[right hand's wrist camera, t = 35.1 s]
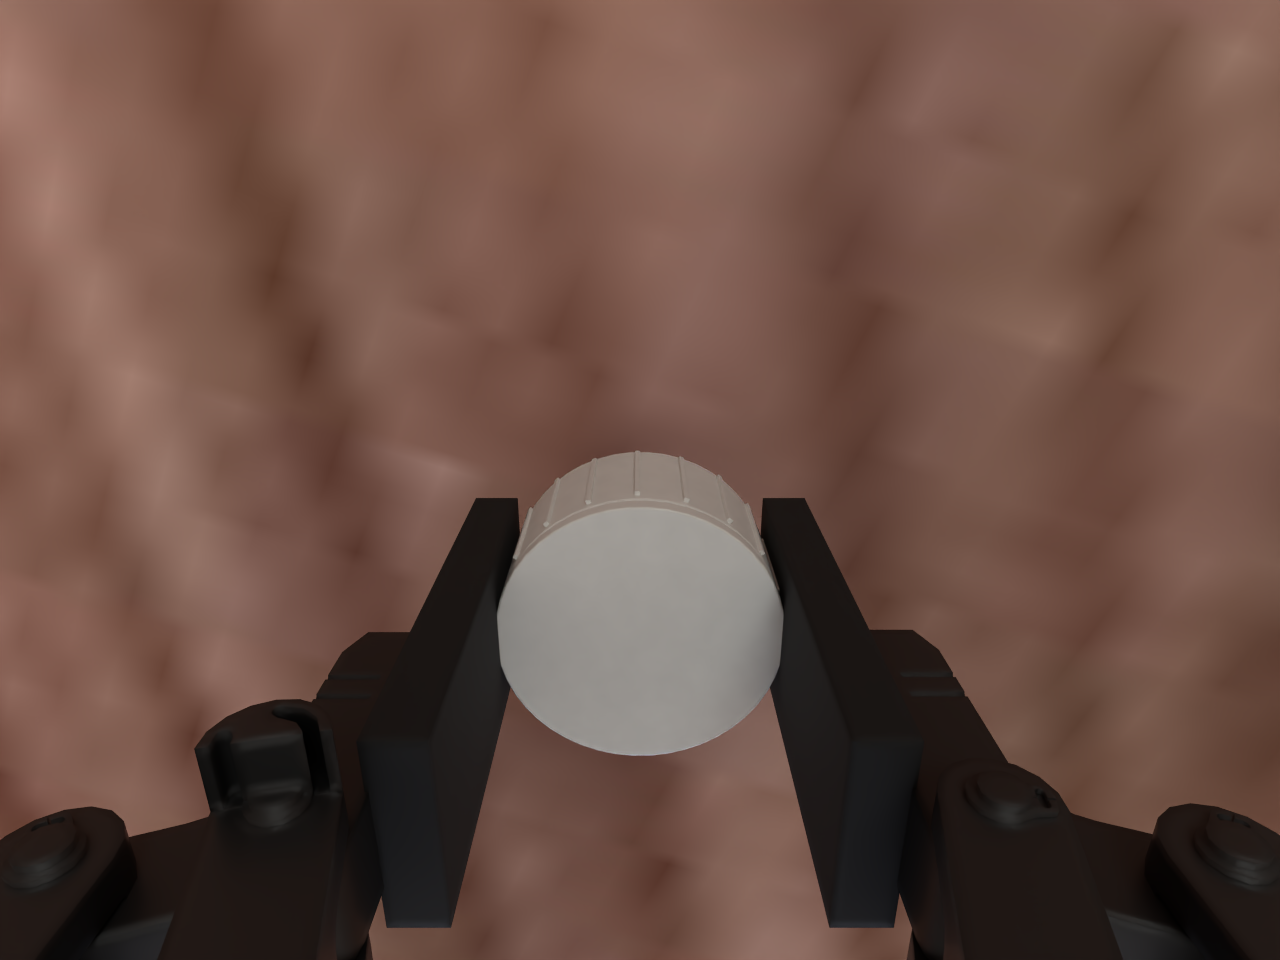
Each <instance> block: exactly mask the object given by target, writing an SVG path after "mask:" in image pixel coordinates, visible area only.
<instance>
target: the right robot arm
mask: <svg viewBox="0 0 1280 960" xmlns="http://www.w3.org/2000/svg"><path fill="white" fill-rule="evenodd" d="M519 537H520V529H519V513H518V498H476V499H475V502H474V504H473V506H472V508H471V510H470V512H469V514H468V516H467V518H466V520H465V522H464V524H463V526H462V528H461V530H460V532H459V534H458V536H457V538H456V540H455V542H454V544H453V546H452V548H451V550H450V552H449V554H448V556H447V558H446V560H445V562H444V564H443V566H442V568H441V570H440V572H439V575H438V577H437V579H436V581H435V583H434V585H433V587H432V589H431V591H430V593H429V595H428V597H427V599H426V601H425V603H424V605H423V607H422V609H421V611H420V613H419V615H418V617H417V619H416V621H415V623H414V625H413V627H412V629H411V631H410V632H368V633H367V634H365V635H364V636H363V637H362V638H360V639H359V640H358V641H356V642H355V643H354V644H352V645H351V646H350V647H348V648H347V649H346V650H344V651H343V652H342V654H341V655H340V657H339V658H338V660H337V662H336V663H335V665H334V667H333V668H332V670H331V671H330V673H329V675H328V680H325V681H324V683H323V685H322V686H321V688H320V689H319V691H318V693H317V697H316V699H313V701H312V703H311V702H308V701H304V700H301V699H292V700H274V701H269V702H265V703H261V704H257V705H252V706H250V707H247V708H245V709H243V710H241V711H239V712H236V713H234V714H232V715H230V716H228V717H226V718H224V719H223V720H222V721H220V722H219V723H218V724H216V725H215V726H214V727H212V728H211V729H210V730H208V731H207V732H206V733H205V735H204V736H203V737H202V739H201V740H200V742H199V743H198V744H197V746H196V747H195V749H194V750H195V754H196V757H197V761H198V765H199V769H200V773H201V777H202V781H203V784H204V788H205V792H206V796H207V800H208V804H209V807H210V811H211V812H210V815H209V817H206V818H203V819H200V820H197V821H193V822H190V823H187V824H183V825H179V826H175V827H170V828H166V829H162V830H158V831H153V832H149V833H145V834H141V835H136V836H132V837H129V836H128V833H127V830H126V827H125V824H124V821H123V820H122V819H121V818H120V817H119V816H118V815H117V814H115V813H114V812H113V811H112V810H107V809H102V808H97V807H84V808H76V809H68V810H63V811H60V812H57V813H54V814H51V815H48V816H45V817H42V818H39V819H36V820H34V821H32V822H30V823H29V824H27V825H25V826H23V827H21V828H19V829H18V830H16V831H14V832H12V833H10V834H9V835H7V836H5V837H4V838H3V839H1V840H0V960H373V958H372V951H371V944H370V938H369V933H368V932H369V929H370V926H371V923H372V920H373V918H374V915H375V912H376V909H377V906H378V904H379V901H380V898H381V895H382V901H383V908H384V914H385V920H386V926H387V928H451V925H452V921H453V917H454V913H455V909H456V905H457V901H458V897H459V893H460V889H461V885H462V881H463V877H464V873H465V869H466V865H467V861H468V857H469V853H470V849H471V845H472V841H473V837H474V833H475V828H476V824H477V820H478V816H479V812H480V808H481V804H482V800H483V796H484V792H485V788H486V784H487V780H488V776H489V772H490V768H491V764H492V760H493V756H494V752H495V748H496V744H497V740H498V736H499V732H500V728H501V724H502V720H503V716H504V712H505V708H506V704H507V699H508V695H509V691H510V687H511V686H510V684H509V683H508V681H507V679H506V676H505V674H504V672H503V669H502V667H501V661H500V650H499V637H498V624H497V610H498V605H499V601H500V597H501V594H502V591H503V588H504V585H505V582H506V578H507V575H508V572H509V569H510V566H511V563H512V560H513V555H514V552H515V549H516V546H517V543H518V540H519ZM762 538H763V540H764V543H765V546H766V549H767V552H768V555H769V558H770V561H771V564H772V567H773V571H774V574H775V577H776V580H777V583H778V586H779V589H780V591H779V595H780V599H781V603H782V607H783V611H784V616H783V631H782V644H781V656H780V666H779V668H778V671H777V674H776V676H775V678H774V680H773V682H772V684H771V686H770V689H771V694H772V698H773V702H774V706H775V710H776V714H777V718H778V722H779V726H780V730H781V734H782V738H783V742H784V746H785V750H786V754H787V758H788V762H789V766H790V770H791V774H792V778H793V782H794V786H795V790H796V794H797V798H798V802H799V806H800V810H801V814H802V818H803V822H804V826H805V831H806V835H807V839H808V843H809V847H810V851H811V855H812V859H813V863H814V867H815V871H816V875H817V879H818V883H819V887H820V891H821V895H822V899H823V903H824V907H825V911H826V915H827V919H828V923H829V927H830V928H894V923H895V917H896V911H897V905H898V898H899V893H900V895H901V898H902V901H903V904H904V907H905V909H906V912H907V915H908V918H909V921H910V924H911V926H912V933H911V938H910V944H909V950H908V955H907V960H1280V835H1278V834H1277V833H1276V832H1274V831H1272V830H1270V829H1268V828H1266V827H1265V826H1263V825H1261V824H1259V823H1257V822H1255V821H1254V820H1252V819H1250V818H1248V817H1246V816H1243V815H1240V814H1237V813H1234V812H1231V811H1228V810H1225V809H1222V808H1219V807H1215V806H1207V805H1199V804H1191V803H1190V804H1184V805H1179V806H1174V807H1169V808H1168V809H1167V810H1166V811H1165V812H1164V813H1163V814H1162V815H1161V816H1159V817H1158V819H1157V823H1156V826H1155V829H1154V832H1153V834H1149V833H1145V832H1141V831H1136V830H1132V829H1128V828H1124V827H1119V826H1115V825H1111V824H1107V823H1102V822H1098V821H1094V820H1091V819H1088V818H1085V817H1081V816H1078V815H1075V814H1073V813H1070V811H1069V809H1068V808H1067V806H1066V805H1065V803H1064V801H1063V800H1062V798H1061V797H1060V795H1059V793H1058V792H1056V791H1055V790H1054V789H1053V788H1052V787H1051V786H1049V785H1048V784H1047V783H1046V782H1045V781H1043V780H1042V779H1041V778H1040V777H1038V776H1036V775H1034V774H1032V773H1030V772H1029V771H1027V770H1025V769H1023V768H1021V767H1019V766H1017V765H1014V764H1010V763H1008V761H1007V760H1006V758H1005V757H1004V755H1003V753H1002V752H1001V750H1000V749H999V747H998V745H997V744H996V742H995V740H994V739H993V737H992V736H991V734H990V732H989V731H988V729H987V727H986V726H985V724H984V723H983V721H982V719H981V718H980V716H979V714H978V713H977V711H976V710H975V708H974V706H973V705H972V703H971V701H970V700H969V698H968V697H965V694H964V690H963V688H962V687H961V685H960V684H959V682H958V680H957V679H956V677H953V672H952V671H951V669H950V667H949V666H948V664H947V663H946V661H945V659H944V658H943V656H942V654H941V653H940V651H939V650H938V649H937V648H936V647H934V646H933V645H932V644H930V643H929V642H928V641H926V640H925V639H924V638H923V637H921V636H920V635H919V634H917V633H916V632H915V631H913V630H869V628H868V626H867V624H866V622H865V620H864V618H863V616H862V614H861V612H860V610H859V608H858V606H857V604H856V602H855V600H854V598H853V596H852V594H851V592H850V590H849V588H848V586H847V584H846V582H845V580H844V578H843V575H842V573H841V571H840V569H839V567H838V565H837V563H836V561H835V559H834V557H833V555H832V553H831V551H830V549H829V547H828V545H827V543H826V541H825V539H824V537H823V535H822V533H821V531H820V529H819V527H818V525H817V523H816V521H815V519H814V517H813V515H812V513H811V511H810V509H809V507H808V505H807V502H806V500H805V498H763V505H762V521H761V539H762Z"/></svg>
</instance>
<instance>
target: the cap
mask: <svg viewBox="0 0 1280 960" xmlns="http://www.w3.org/2000/svg"><path fill="white" fill-rule="evenodd" d="M779 591H780V589H779V586H778V583H777V580H776V577H775V574H774V571H773V567H772V564H771V561H770V558H769V555H768V552H767V549H766V546H765V543H764V540H763V538H762V539H761V536H760V533H759V530H758V528H757V526H756V523H755V520H754V517H753V514H752V511H751V508H750V505H749V504H748V503H747V504H745V503H744V502H743V501H742V499H741V498H740V497H739V496H738V494H737V493H736V492H735V491H734V490H733V489H732V488H731V487H730V486H729V485H728V484H727V483H726V482H725V481H723V480H722V477H721V476H720V475H719V474H718V475H717V476H716V475H715V474H713V473H712V472H711V471H709V470H707V469H705V468H703V467H701V466H699V465H698V464H695V463H693V462H690V461H687V460H685V459H684V457H681V456H679V457H675V456H671V455H666V454H660V453H651V452H640V451H635V452H629V453H621V454H614V455H610V456H606V457H602V458H598V459H597V458H594V459H592V461H591V462H588V463H586V464H583V465H581V466H579V467H577V468H576V469H574V470H572V471H570V472H569V473H567V474H566V475H564V476H563V477H562V478H560V479H559V478H557V479H555V481H554V484H553V485H552V486H551V487H550V488H549V489H548V490H547V491H546V492H545V493H544V494H543V495H542V496H541V498H540V499H539V500H538V502H537V503H536V504H535V505H534V507H533V508H531V507H530V508H529V510H528V512H527V515H526V518H525V521H524V524H523V527H522V531H521V534H520V537H519V540H518V543H517V546H516V549H515V552H514V555H513V560H512V563H511V566H510V569H509V572H508V575H507V578H506V582H505V585H504V588H503V591H502V594H501V597H500V601H499V605H498V610H497V624H498V637H499V650H500V661H501V667H502V669H503V672H504V674H505V676H506V679H507V681H508V683H509V684H510V686H511V688H512V689H513V691H514V693H515V694H516V696H517V697H518V698H519V700H520V701H521V702H522V703H523V705H524V706H525V707H526V708H527V709H528V710H529V711H530V712H531V713H532V714H533V715H534V716H535V717H536V718H537V719H538V720H539V721H541V722H542V723H543V724H545V725H546V726H547V727H549V728H550V729H551V730H553V731H555V732H556V733H558V734H560V735H562V736H563V737H565V738H567V739H569V740H571V741H574V742H576V743H578V744H580V745H583V746H586V747H589V748H592V749H596V750H599V751H604V752H609V753H614V754H622V755H632V756H638V755H659V754H667V753H672V752H677V751H681V750H686V749H689V748H691V747H694V746H697V745H700V744H703V743H705V742H707V741H709V740H711V739H714V738H716V737H718V736H719V735H721V734H723V733H724V732H726V731H727V730H729V729H731V728H732V727H734V726H735V725H736V724H737V723H739V722H740V721H741V720H742V719H744V718H745V717H746V716H747V715H748V714H749V713H750V712H751V711H752V710H753V709H754V708H755V707H756V706H757V705H758V703H759V702H760V701H761V699H762V698H763V697H764V695H765V694H766V693H767V691H768V689H769V687H770V686H771V684H772V682H773V680H774V678H775V676H776V674H777V671H778V668H779V666H780V656H781V644H782V631H783V616H784V611H783V607H782V603H781V599H780V595H779Z"/></svg>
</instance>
